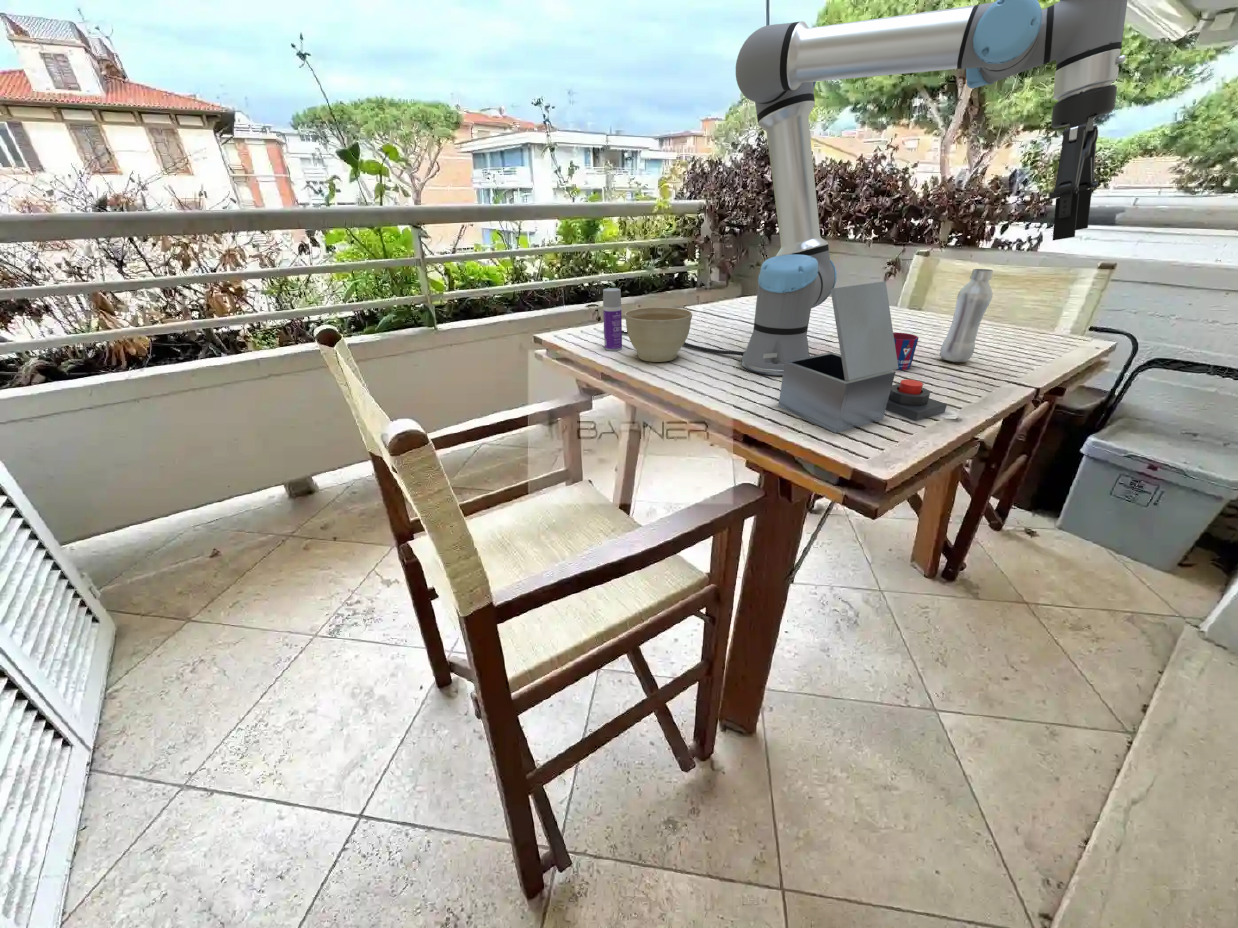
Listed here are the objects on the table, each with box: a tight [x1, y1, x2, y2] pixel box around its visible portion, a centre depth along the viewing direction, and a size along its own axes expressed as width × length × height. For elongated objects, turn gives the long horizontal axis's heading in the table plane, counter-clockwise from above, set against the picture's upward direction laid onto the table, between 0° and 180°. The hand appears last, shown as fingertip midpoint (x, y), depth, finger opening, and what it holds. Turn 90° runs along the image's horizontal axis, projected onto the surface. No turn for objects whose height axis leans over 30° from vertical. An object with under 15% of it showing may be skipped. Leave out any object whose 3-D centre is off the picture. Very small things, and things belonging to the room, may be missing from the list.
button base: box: [885, 383, 948, 422], centre depth 89 cm, size 10×8×4 cm
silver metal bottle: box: [939, 268, 994, 363], centre depth 108 cm, size 6×7×20 cm
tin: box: [777, 351, 896, 434], centre depth 86 cm, size 14×12×9 cm
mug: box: [893, 332, 919, 371], centre depth 111 cm, size 7×10×7 cm
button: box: [898, 378, 924, 394], centre depth 87 cm, size 4×4×2 cm
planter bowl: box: [624, 306, 693, 363], centre depth 118 cm, size 16×16×11 cm
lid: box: [830, 280, 898, 381], centre depth 77 cm, size 14×12×1 cm
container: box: [602, 287, 623, 352], centre depth 125 cm, size 5×5×15 cm
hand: (1070, 234), depth 85 cm, fingers open, 13 cm apart
